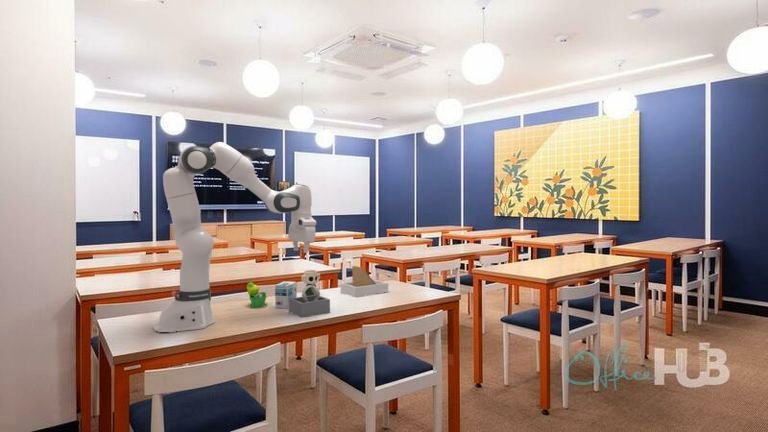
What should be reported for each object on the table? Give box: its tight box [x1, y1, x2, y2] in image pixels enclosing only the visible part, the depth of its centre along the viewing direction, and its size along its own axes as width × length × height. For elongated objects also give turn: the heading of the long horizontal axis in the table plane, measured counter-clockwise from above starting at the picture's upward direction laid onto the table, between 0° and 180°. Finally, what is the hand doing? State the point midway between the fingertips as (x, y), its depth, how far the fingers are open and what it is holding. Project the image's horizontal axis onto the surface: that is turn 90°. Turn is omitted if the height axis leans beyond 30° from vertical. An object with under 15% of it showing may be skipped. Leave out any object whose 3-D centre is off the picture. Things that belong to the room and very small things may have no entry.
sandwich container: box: [351, 265, 376, 287], centre depth 249 cm, size 9×15×15 cm, turn 129°
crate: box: [288, 294, 331, 319], centre depth 206 cm, size 14×12×6 cm
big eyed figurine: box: [301, 269, 321, 296], centre depth 241 cm, size 11×7×13 cm, turn 130°
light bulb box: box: [274, 280, 298, 309], centre depth 218 cm, size 11×7×11 cm, turn 168°
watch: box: [301, 285, 321, 302], centre depth 206 cm, size 6×8×11 cm
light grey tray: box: [340, 278, 389, 298], centre depth 249 cm, size 21×15×5 cm
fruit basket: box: [246, 282, 267, 309], centre depth 219 cm, size 11×9×11 cm
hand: (300, 251), depth 206 cm, fingers open, 8 cm apart
